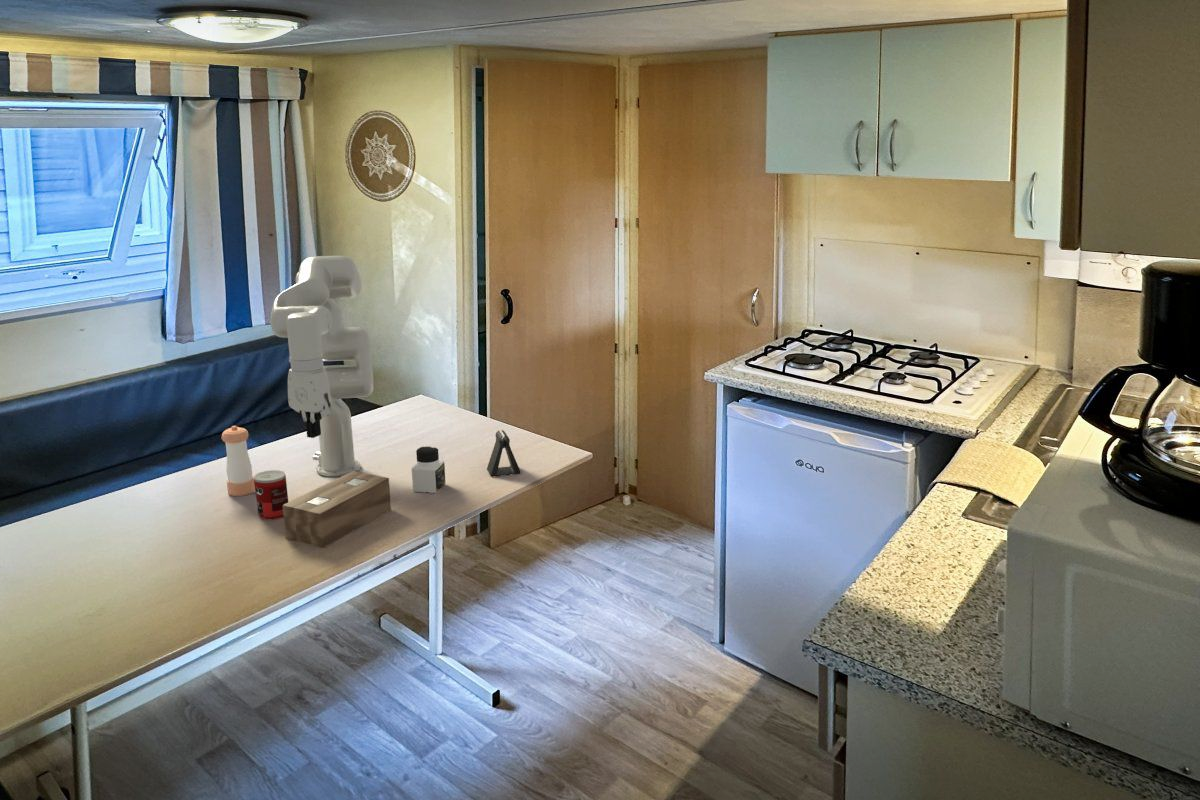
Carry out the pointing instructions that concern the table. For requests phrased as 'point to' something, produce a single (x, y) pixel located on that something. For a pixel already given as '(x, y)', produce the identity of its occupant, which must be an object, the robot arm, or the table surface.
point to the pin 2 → (356, 482)
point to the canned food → (270, 493)
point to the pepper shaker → (238, 462)
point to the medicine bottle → (428, 471)
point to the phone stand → (496, 457)
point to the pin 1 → (318, 501)
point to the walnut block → (336, 509)
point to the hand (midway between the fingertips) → (314, 435)
